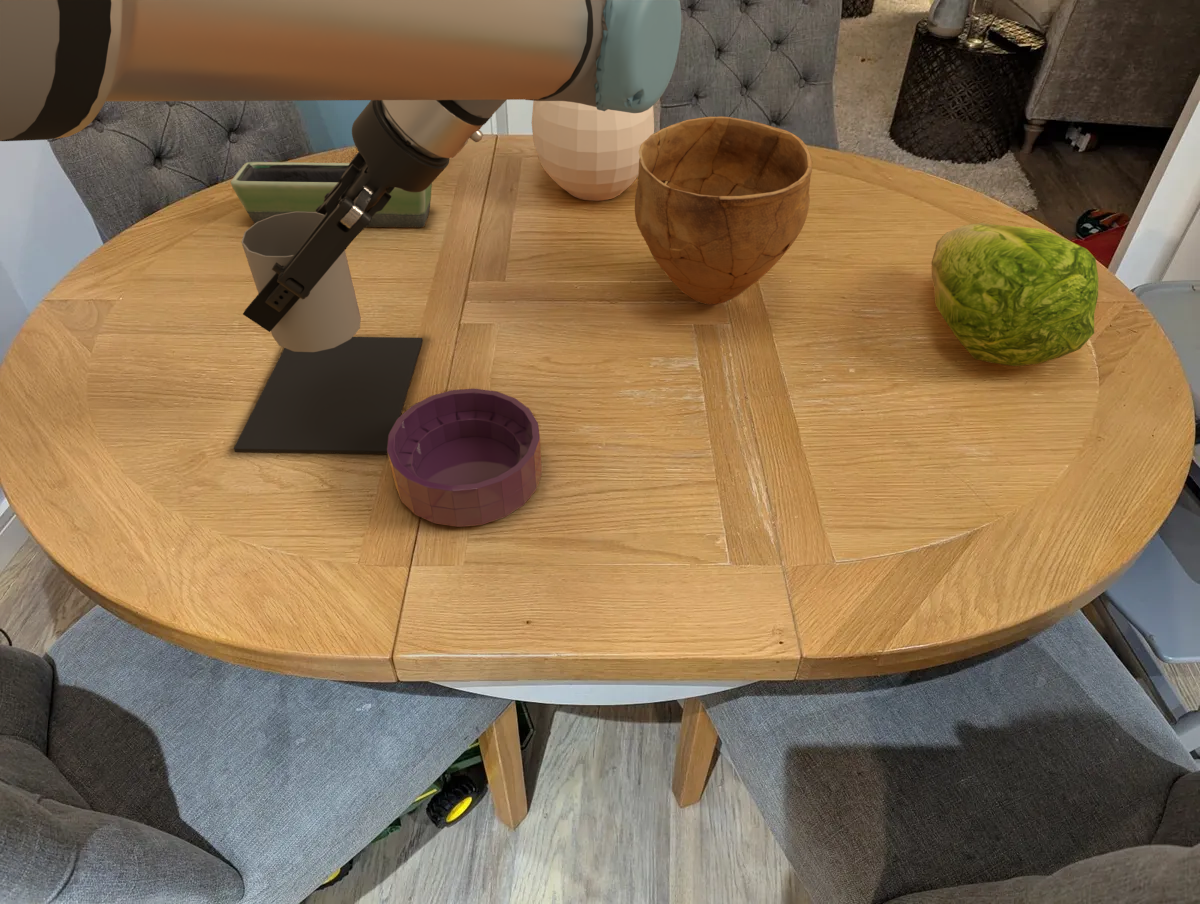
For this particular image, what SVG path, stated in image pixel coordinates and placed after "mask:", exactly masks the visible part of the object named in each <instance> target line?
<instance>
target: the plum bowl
mask: <svg viewBox="0 0 1200 904" xmlns="http://www.w3.org/2000/svg"><path fill="white" fill-rule="evenodd" d="M540 435H541V434H540V427H539V422H538V420H537V419H536V417H535V415H534V413H533V412H532V411H531V409H530V408H529V407H527V406H526V405H525V404H524V403H522V402H521V401H520V400H518V399H517V398H516V397H514V396H510V395H507V394H505V393H502V392H500V391H498V390H497V391H496V390H490V389H483V388H482V389H481V388H463V389H451V390H447V391H444V392H440V393H436V394H432V395H430V396H428V397H426V398H424V399H422V400H420V401H419V402H416V403H415V404H413V405H411V406H410V407H409V408H408V409H407V410H406V411H404V412H403V413H401V416H400V417H399V418H398V419H397V420H396V422H395V424H394V426H393V427H392V429H391V431H390V433H389V435H388V444H387V453H388V454H387V456H388V462H389V465H390V469H391V473H392V477H393V482H394V486H395V489H396V491H397V493H398V496H399V499H400V501H401V503H402V504H403V505H404V506H405V507H407V508H408V509H409V510H410V512H412V514H413V515H415V516H417V517H419V518H422V519H424V520H426V521H428V522H430V523H432V524H438V525H442V526H443V525H444V526H451V527H456V528H457V527H458V528H461V527H462V528H463V527H472V526H483V525H485V524H489V523H492V522H495V521H497V520H500V519H503V518H506V517H507V516H509V515H511V514H512V513H514V512H516V511H517V510H518V509H520V508H522V507H523V506H524V505H526V503H527V502H528V500H529V499H530V498H531V497H532V496H533V494H534V493H536V491H537V490H538V487H539V484H540V481H541V478H542V474H543V470H542V469H543V468H542V453H541V437H540Z"/></svg>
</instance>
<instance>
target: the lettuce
mask: <svg viewBox="0 0 1200 904" xmlns="http://www.w3.org/2000/svg"><path fill="white" fill-rule="evenodd" d="M931 280H932V284H933V287H934V304H935V306H936V308H937V310H938V312H939V313H940V314H941V316H942V318H943V319H944V321H945V322H946V324H947V325H948V327H949V329H950V330H951V332H952V333H953V335H954V336H955V338H956V339H957V340H958V341H959V343H960V344H961V345H962V346H963V347H964V348H965V350H966V351H967V352H968V353H969V355H971V357H972V358H973V359H974V360H976V361H977V360H978V361H981V362H986V363H989V364H995V365H1002V366H1003V365H1004V366H1010V367H1011V366H1012V367H1022V366H1030V365H1031V366H1032V365H1039V364H1042V363H1045V362H1046V363H1047V362H1049V361H1052V360H1056V359H1058V358H1059V359H1060V358H1061V357H1064V356H1067V355H1069V354H1071V353H1074V352H1076V351H1079V350H1081V348H1083V346H1084V345H1085V344H1086V343H1087V342H1088V341H1089V340H1090V338H1092V337H1093V335H1094V334H1095V312H1096V307H1097V303H1098V300H1099V299H1098V298H1099V272H1098V265H1097V258H1096V257H1095V256H1094V255H1093V254H1092V253H1091V252H1090V251H1089V250H1088V249H1087V248H1086V247H1083V246H1082V245H1080V244H1077V243H1075V242H1073V241H1071V240H1068V239H1066V238H1063V237H1062V236H1059V235H1057V234H1055V233H1053V232H1050V231H1049V230H1047V229H1044V228H1036V227H1030V226H1029V227H1027V226H1019V225H1018V226H1017V225H1003V224H996V223H995V224H994V223H987V222H977V223H969V224H965V225H961V226H958V227H956V228H954V229H952V230H950V231H947V232H945V234H943V235H942V236H941V237H940V238H939V239H938V240H937V241H936V244H935V249H934V252H933V255H932V259H931Z"/></svg>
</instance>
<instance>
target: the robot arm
mask: <svg viewBox="0 0 1200 904" xmlns="http://www.w3.org/2000/svg"><path fill="white" fill-rule="evenodd" d="M681 7H682V6H681V1H680V0H0V142H21V141H23V142H24V141H46V140H47V141H48V140H55V139H62V138H68V137H71V136H73V135H76V134H77V133H80V132H82V131H83V130H84V129H86V128H87V127H88V126H89V125H90V124H91V123H93V121H94V120H95V118H96V117H97V116H98V114H99V113H100V111H102V109H103V107H104V105H105V103H106V102H271V101H273V102H276V101H277V102H280V101H282V102H287V101H289V102H290V101H291V102H292V101H294V102H296V101H297V102H298V101H302V102H303V101H369V102H368V103H367V104H366V105H365V107H364V109H363V110H362V111H361V112H360V114H358V116H357V117H356V118H355V120H354V121H353V123H352V126H351V137H352V140H353V143H354V145H355V148H356V150H357V151H358V152H357V153H356V154H355V155H354V157H352V159H351V161H350V162H349V163H350V164H349V165H348V169H347V170H346V171H345V172H344V174H343V175H342V177H341V178H340V180H339V182H338V183H337V184H336V185H335V187H334V188H333V189H332V190H331V191H330V192H329V193H327V194H326V195H325V199H324V203H323V204H322V205H320V206H318V208H317V209H316V210H315V211H316V212H317V213H320V214H323V215H325V216H324V217H323V218H322V219H321V221H320V222H319V223H318V225H317V226H316V227H315V228H314V230H313V231H312V232H311V234H310V235H309V236H308V238H307V239H306V240H305V241H304V243H303V244H302V245H301V247H300V248H299V249H298V251H297V252H296V253H295V254H294V256H293V257H292V258H291V260H290V261H289V262H288V264H287V265H286V266H283V265H282V266H281V265H280V264H278V263H277V262H276V263H275V265H274V266H273V268H272V270H273V271H275V272H276V274H275V275H274V276H273V277H272V278H271V280H270V281H269V282H268V283H267V284H266V286H265V287H264V288H263V289H262V290H261V292H260V293H259V294H258V293H257V295H256V296H255V297H254V298H253V300H252V301H251V302H250V303H249V304H248V306H247V307H246V308H245V309H244V311H243V313H242V316H244V317H246V318H248V319H249V320H250V321H252V322H253V323H254V324H257V325H258V326H259V327H261V328H263V329H264V330H266V331H267V332H268V333H271V330H272V329H273V328H274V327H275V326H276V325H277V323H278V322H279V321H280V320H281V319H282V318H283V317H284V316H285V314H286V313H287V312H288V311H289V310H290V309H291V308H292V306H293V305H294V304H295V303H296V302H297V301H298V300H299V299H300V298H301V299H302V300H303V299H305V298H306V297H308V296H309V294H310V291H311V290H312V289H313V287H314V286H315V285H316V284H317V283H318V282H319V280H320V279H321V278H322V277H323V276H324V274H325V273H326V272H327V271H328V270H329V268H330V267H331V266H332V265H333V264H334V262H335V261H336V260H337V259H338V258H339V256H340V255H341V254H342V253H343V252H344V250H345V251H346V250H347V248H348V247H349V246H350V244H351V243H353V241H354V240H355V239H356V238H357V237H358V236H359V234H361V232H362V231H363V230H364V229H365V228H367V227H366V226H369V224H370V223H371V220H372V217H373V216H374V214H375V213H376V212H378V211H381V210H382V209H383V208H384V207H385V205H386V204H387V203H388V201H389V200H390V199H391V197H392V196H391V195H390V193H391V192H392V190H393V189H394V188H395V187H396V188H400V189H403V190H404V191H408V192H421V191H424V190H425V189H427V188H428V187H429V185H430V184H431V183H432V184H433V183H434V181H435V180H436V179H437V178H438V177H439V176H440V174H441V173H443V171H445V169H446V168H447V167H448V166H449V164H450V159H452V158H455V157H456V156H457V155H458V154H459V153H460V152H461V151H462V150H463V149H464V147H465V146H467V144H468V141H469V139H470V140H472V141H473V142H474V143H480V141H481V140H482V139H483V135H484V133H483V132H482V130H481V129H482V127H483V126H484V125H485V124H486V123H487V122H488V121H490V119H492V118H493V115H494V114H495V113H496V112H497V111H498V110H499V108H500V107H502V105H503V104H505V102H506V101H508V100H509V101H511V100H512V101H513V100H514V101H515V100H517V101H518V100H520V101H521V100H522V101H524V100H525V101H532V102H533V101H567V102H575V103H581V104H585V105H589V106H593V107H597V110H601V111H606V110H608V109H609V110H616V111H622V112H629V113H641V112H644V111H646V110H648V109H649V108H651V107H652V106H653V107H654V105H656V103H658V101H660V99H661V98H662V96H663V95H664V93H665V92H666V90H667V88H668V86H669V84H670V81H671V79H672V76H673V73H674V71H675V68H676V63H677V59H678V54H679V51H680V43H681V35H682V8H681Z"/></svg>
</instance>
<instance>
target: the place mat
mask: <svg viewBox="0 0 1200 904" xmlns="http://www.w3.org/2000/svg"><path fill="white" fill-rule="evenodd" d="M423 342H424V339H423V337H405V336H404V337H401V336H400V337H398V336H397V337H395V336H391V337H390V336H353V337H352V338H351V339H350V340H348V341H346V342H344V343H342V344H340V345H338V346H336V347H335V348H331V349H326V350H322V351H317V352H294V351H291V350H289V349H286V348H284V347H283V350H282V351H281V354H280V355H279V358H278V359H277V361H276V364H275V366H274V368H273V369H272V372H271V374H270V375H269V377H268V380H267V381H266V383H265V385H264V388H263V389H262V391H261V393H260V396H259V397H258V399H257V401H256V404H255V405H254V407H253V409H252V411H251V413H250V415H249V416H248V419H247V421H246V423H245V425H244V427H243V429H242V431H241V433H240V435H239V437H238V439H237V441H236V442H235V445H234V447H233V450H234V453H272V454H273V453H274V454H275V453H276V454H277V453H279V454H284V453H285V454H344V455H346V454H347V455H349V454H350V455H351V454H352V455H388V453H387V444H388V435H389V433H390V431H391V429H392V427H393V426H394V424H395V422H396V420H397V419H398V418H399V417H400V416H401V415H402V412H403V409H404V406H405V402H406V399H407V396H408V393H409V389H410V385H411V381H412V379H413V375H414V372H415V369H416V365H417V362H418V358H419V355H420V351H421V348H422V345H423Z"/></svg>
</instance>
